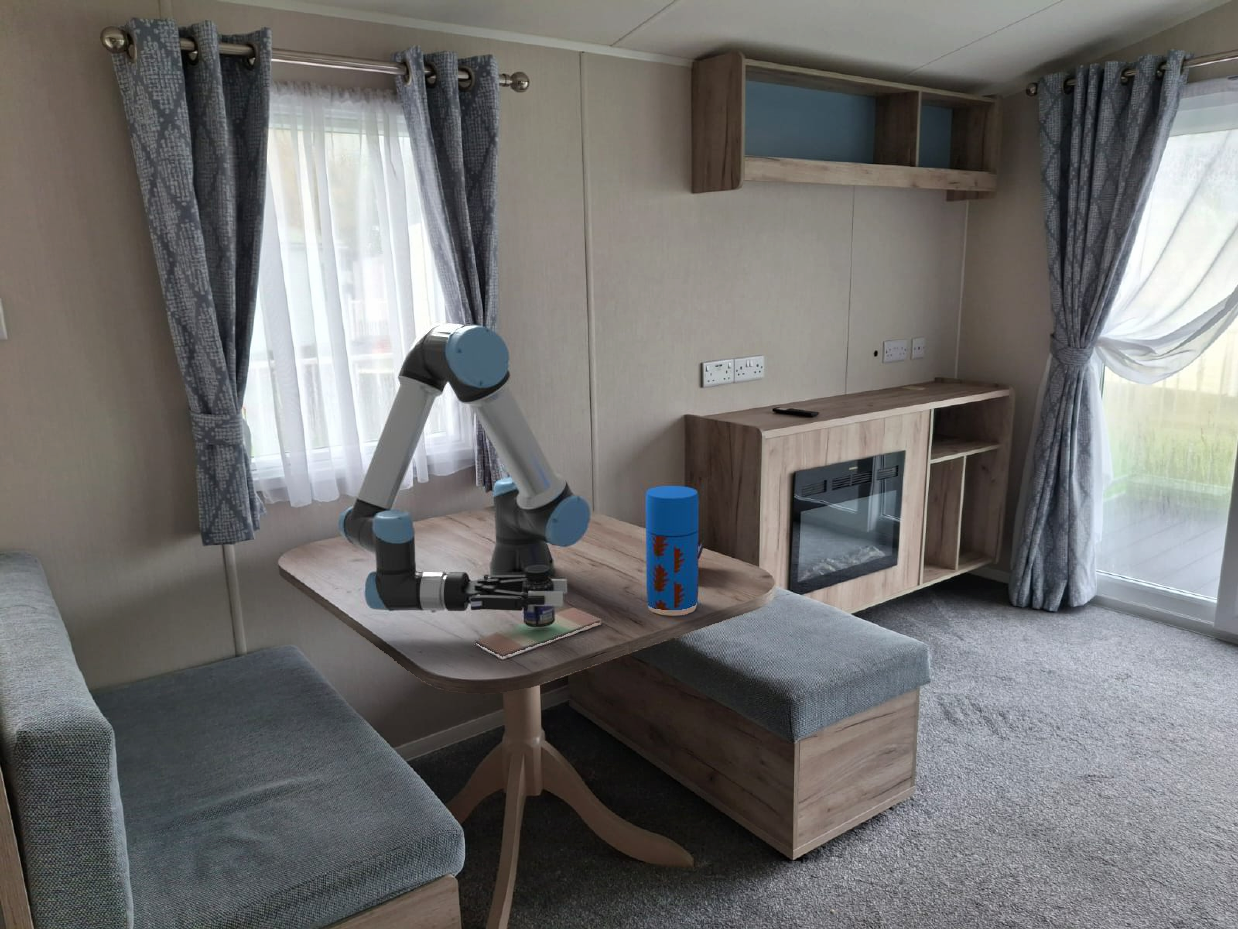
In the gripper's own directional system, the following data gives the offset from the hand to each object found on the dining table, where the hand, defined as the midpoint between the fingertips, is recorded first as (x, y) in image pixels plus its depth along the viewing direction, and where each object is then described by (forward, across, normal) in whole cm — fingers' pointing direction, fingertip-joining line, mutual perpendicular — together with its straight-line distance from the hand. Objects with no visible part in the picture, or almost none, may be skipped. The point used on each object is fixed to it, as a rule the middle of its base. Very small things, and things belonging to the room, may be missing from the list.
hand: (564, 592), depth 174 cm
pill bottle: (-5, 0, -6) cm, 8 cm away
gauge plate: (-5, 0, -9) cm, 10 cm away
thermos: (+21, -15, -9) cm, 27 cm away
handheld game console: (+23, -36, -9) cm, 43 cm away
